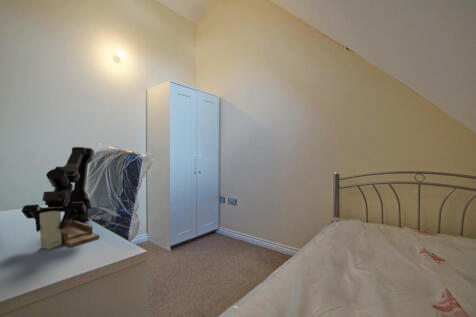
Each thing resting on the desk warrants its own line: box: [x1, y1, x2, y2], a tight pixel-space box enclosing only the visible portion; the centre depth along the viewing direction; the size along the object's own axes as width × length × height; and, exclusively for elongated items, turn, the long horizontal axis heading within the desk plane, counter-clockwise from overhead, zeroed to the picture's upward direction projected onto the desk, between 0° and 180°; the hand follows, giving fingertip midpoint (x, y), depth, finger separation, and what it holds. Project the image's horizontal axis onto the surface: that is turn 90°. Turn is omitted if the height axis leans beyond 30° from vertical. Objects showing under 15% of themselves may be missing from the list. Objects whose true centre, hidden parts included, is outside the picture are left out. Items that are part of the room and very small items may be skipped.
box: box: [39, 211, 63, 250], centre depth 79 cm, size 5×4×13 cm
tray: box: [61, 220, 100, 248], centre depth 88 cm, size 10×21×4 cm, turn 61°
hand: (48, 230), depth 78 cm, fingers closed on box, 6 cm apart
